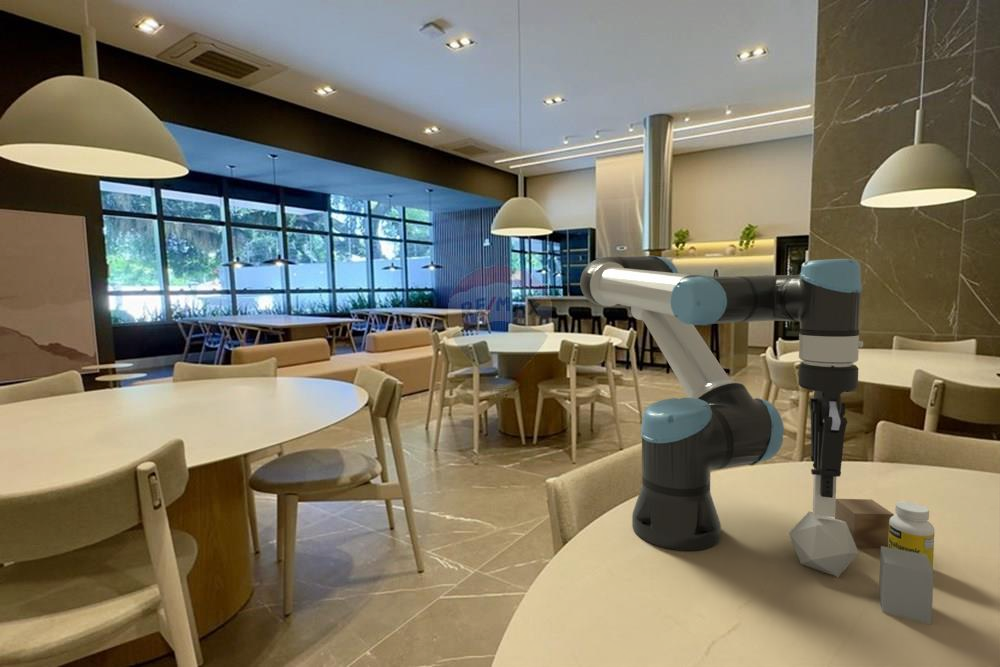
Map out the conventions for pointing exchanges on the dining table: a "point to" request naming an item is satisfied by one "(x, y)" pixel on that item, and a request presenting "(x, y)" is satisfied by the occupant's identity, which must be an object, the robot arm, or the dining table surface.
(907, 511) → the supplement bottle
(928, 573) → the grey block
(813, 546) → the die
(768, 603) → the dining table surface
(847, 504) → the walnut block
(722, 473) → the dining table surface
